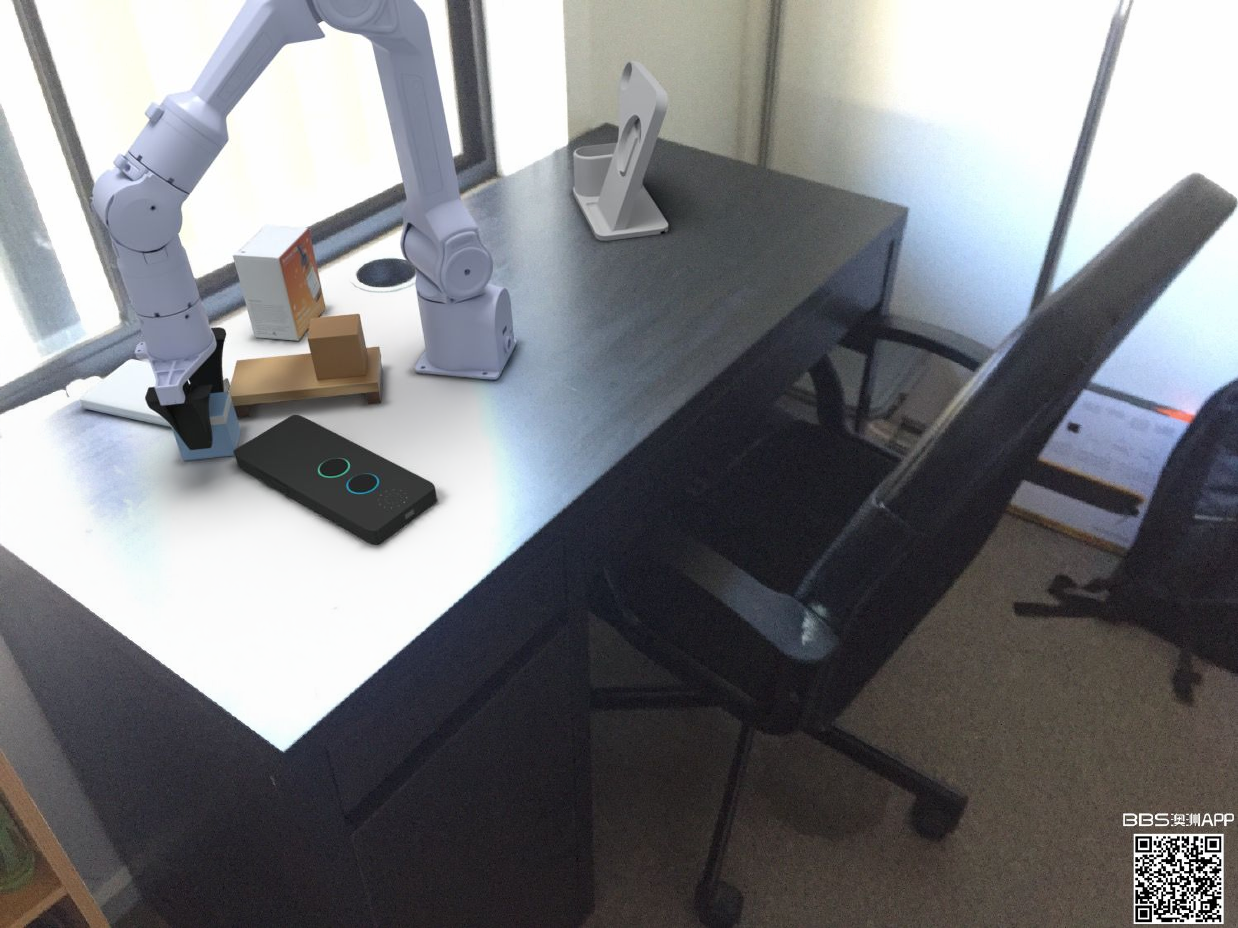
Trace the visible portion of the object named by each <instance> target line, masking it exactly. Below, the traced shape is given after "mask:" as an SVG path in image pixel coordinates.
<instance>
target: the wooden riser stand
mask: <svg viewBox="0 0 1238 928" xmlns="http://www.w3.org/2000/svg"><path fill="white" fill-rule="evenodd" d="M366 349H367V369H366V375H364V376H354V377H344V378H333V379H323V380H317V377H316V373H315V369H314V365H313V361H312V356H311V352H309V353H300V354H299V353H298V354H289V355H279V356H267V357H258V358H257V357H256V358H248V359H238V360H236V362H235V366H234V370H233V373H232V378H231V382H230V388H229V389H228V392H230V395H231V399H232V402H233V406H234V409H235V412H236V416H237V419H240V418H246V417H247V418H248V417H250V415H251V410H252V406H253V405H256V404H257V405H258V404H268V403H275V402H276V403H278V402H287V401H296V400H307V399H316V398H327V397H336V396H345V395H347V396H348V395H356V394H365V395H364V396H365V400H366V404H367V405H376V404H382V392H383V391H382V389H383V370H384V369H383V365H382V354H381V347H380V346H371V347H366Z"/></svg>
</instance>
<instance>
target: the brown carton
mask: <svg viewBox="0 0 1238 928" xmlns="http://www.w3.org/2000/svg"><path fill="white" fill-rule="evenodd" d="M307 332H308V333H307V344H308V348H309V353H311V356H312V361H313V365H314V369H315V373H316V377H317V380H323V379H333V378H344V377H354V376H364V375H366V369H367V349H366V348H367V345H366V340H365V334H364V329H363V325H362V319H361V314H360V313H351V314H340V315H339V314H338V315H331V316H330V315H329V316H328V315H327V316H318V318H311V319H310V325H309V328H308V331H307Z"/></svg>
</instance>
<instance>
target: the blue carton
mask: <svg viewBox="0 0 1238 928" xmlns="http://www.w3.org/2000/svg"><path fill="white" fill-rule="evenodd" d="M209 416H210V422H211V428H212V436H213V441H212V447H211V448H207V449H198V450H190V449H189V448H188V447H187V446H186V445H185V443H184V442H183V441H182V439H181V438H180V436H179V435H178V434H177V432H176V431H175V430H174V428H173V427H172V426H171V427H170V428H171V430H172V433H173V436H174V438H175V441H176V444H177V447H178V450H179V453H180V456H181V458H182V461H184V462H185V461H194V460H202V459H203V460H205V459H214V458H222V457H231V456H235V455H234V450H235V449H237V448H238V447H239V446H238V445H239V441H240V437H241V432H242V429H241V425H240V422H239V420H238V419H239V418H237V416H236V412H235V409H234V406H233V402H232V399H231V395H230V392H229V391H227V392H220V393H210V399H209Z"/></svg>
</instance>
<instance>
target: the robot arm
mask: <svg viewBox="0 0 1238 928" xmlns="http://www.w3.org/2000/svg"><path fill="white" fill-rule="evenodd" d="M322 22H324V23H325V24H326V25H328V26H330V27H331V28H333V29H335V30H337V31H340V32H344V33H347V34H348V33H349V34H354V35H359V36H362V37H364V38H365V39H367V40H368V41H369V42H370V43H371V47H372V51H373V56H374V59H375V60H374V61H375V63H376V64H375V65H376V68H377V72H378V77H379V81H380V86H381V92H382V94H383V100H384V103H385V108H386V113H387V117H388V122H389V126H390V131H391V136H392V140H393V145H394V149H395V154H396V158H397V162H398V167H399V171H400V175H401V180H402V184H403V188H404V194H405V198H406V202H405V203H404V205H402V208H401V211H400V213H401V217H402V222H403V225H402V231H401V234H400V235H401V236H400V241H399V246H400V247H399V248H400V251H401V254H402V257H403V258H404V259H405V261H407V263H408V264H410V265H411V266H412V267H413V268H414V270H415V283H414V285H415V292H416V297H417V299H416V300H417V304H418V311H419V318H420V323H421V329H422V336H423V341H424V342H423V343H424V349H425V350H424V351H423V352H422V354H421V356H420V358H419V359H418V360H417V362H416V363H415V365H414V367H413V370H414V373H417V374H429V375H439V376H450V377H458V378H459V377H460V378H471V379H480V380H481V379H482V380H490V381H491V380H492V381H493V380H498V379H499V378H500V376H501V374H502V372H503V370H504V369H505V367H506V365H507V363H508V360H509V358H510V356H511V355H512V353H513V352H514V350H515V347H516V345H517V339H516V338H515V332H514V322H513V311H512V303H511V296H510V293H509V290H508V289H507V288H506V287H502V286H499V285H495V284H493V283H490V280H491V279H492V275H493V272H494V261H493V256H492V254H491V252H490V250H489V249H488V247H486V245H485V244H484V243H483V241H482V239H481V235H480V231H479V227H478V224H477V223H476V221H475V219H474V218H473V217H472V214H471V212H470V211H469V210H468V208H467V207H466V205H465V203H464V202H463V199H462V198H461V193H460V187H459V182H458V177H457V171H456V166H455V161H454V154H453V151H452V144H451V138H450V134H449V128H448V123H447V118H446V114H445V113H446V111H445V108H444V101H443V97H442V91H441V87H440V81H439V76H438V69H437V65H436V64H437V63H436V59H435V54H434V49H433V43H432V37H431V31H430V27H429V23H428V19H427V16H426V13H425V12H424V10H423V9H422V7H421V6H420V5H418V3H417V2H416V1H415V0H245V1H244V3H243V5H242V7H241V8H240V10H239V12H238V13H237V15H236V16H235V17H234V19H233V21H232V22H231V24H230V26H229V28H227V31H226V32H225V34H224V35H223V37H222V39H221V40H220V42H219V43H218V45H217V46H216V48H215V50H214V52H213V53H212V55H211V56H210V57H209V59H208V61H207V62H206V64H205V66H204V67H203V69H202V70H201V72H200V73H199V75H198V77H197V78H196V80H195V82H194V84H193V85H192V87H191V88H190V89H189V90H186V91H180V92H175V93H169V94H167V95H166V96H164V98H163V100H162V102H161V103H160V104H158V103H156V102H154V101H152V102H150V104H149V106H148V107H147V109H146V110H145V111H144V115H145V116H146V118H147V119H148V121H147V123H146V124H145V126H144V127H143V129H142V130H141V131H140V132H139V134H138V136H137V137H136V138H135V140H134V141H133V143H132V144H131V145H130V146H129V149H128V150H127V151H126V152H125V154H124V155H123V154H122V153H118V154H117V156H116V157H115V159H114V160H113V161H112V162H113V165H114V166H113V169H111V170H110V169H106V170H105V171H104V172H103V173H102V174H101V175H99V177H98V178H97V180H96V181H95V183H94V185H93V187H92V191H91V194H92V197H91V201H92V202H90V207H91V209H92V211H93V213H94V214H95V215H96V217H97V218H98V219H99V220H100V221H101V222H102V223H103V224H104V226H105V227H106V228H107V230H108V234H109V237H110V240H111V248H112V251H113V253H114V255H115V256H116V265H117V268H118V271H119V274H120V276H121V280H122V282H123V284H124V287H125V290H126V293H127V296H128V299H129V301H130V304H131V307H132V310H133V312H134V316H135V318H136V321H137V324H138V326H139V330H140V332H141V335H142V337H143V340H144V341H141V342H139V343H138V344H137V345H136V347H135V350H134V354H135V356H136V359H137V360H148V362H150V364H151V367H152V370H153V372H154V375H155V378H156V385H155V387H149V388H148V390H147V393H146V396H145V400H146V403H147V405H148V407H149V408H150V409H151V410H153V411H155V412H156V413H158V414H159V415H160V416H162V417H163V418H164V419H165V420H166V421H167V422H168V423H169V424H170V425H171V426H172V427H173V428H174V430H175V431H176V432H177V434H178V435H179V436H180V438H181V439H182V441H183V442H184V443H185V445H186V446H187V447H188V448H189V449H190V450H198V449H207V448H211V447H212V441H213V436H212V428H211V422H210V416H209V399H210V393H220V392H224V384H223V377H224V373H223V354H224V346H225V342H226V339H227V332H226V329H225V328H224V327H219V326H218V327H217V326H215V327H211V325H210V324H209V323H210V321H209V316H208V314H207V310H206V307H205V304H203V301H202V299H201V296H200V292H199V289H198V286H197V283H196V280H195V276H194V274H193V269H192V266H191V263H190V260H189V256H188V254H187V251H186V248H185V247H184V245H183V244H182V241H181V237H180V232H181V230H182V226H183V212H182V211H183V210H182V206H183V204H184V203H185V202H186V201H187V199H188V198H189V196H190V195H191V194H192V192H193V191H194V190H195V188H196V187H197V186H198V184H199V182H200V181H201V180H202V179H203V177H204V175H205V174H206V173H207V171H208V170H209V169H210V167H211V166H212V164H213V163H214V162H215V160H216V159H217V157H218V156H219V155H220V153H221V152H222V151H223V149H224V148H225V146H226V145H227V144H228V142H229V137H230V136H229V130H228V124H227V117H228V116H229V114H230V113H231V112H232V111H233V110H234V108H235V107H237V105H238V104H239V102H240V101H241V100H242V98H244V96H245V95H246V93H247V92H248V91H249V90H250V88H251V87H252V86H253V85H254V84H255V82H256V81H257V80H258V79H259V78H260V77H261V75H262V74H263V73H264V72H265V70H266V69H267V67H268V66H269V64H271V62H272V61H273V60H275V57H276V56H277V55H278V54H279V53H280V52H281V50H282V49H283V48H284V47H285V46H286V45H290V44H296V43H303V42H304V43H305V42H310V41H315V40H321V39H324V38H326V34H325V32H324V31H323V29H322V28H321V26H320V23H322ZM188 380H189V382H190V384H189V382H188ZM172 427H171V428H172Z"/></svg>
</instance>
